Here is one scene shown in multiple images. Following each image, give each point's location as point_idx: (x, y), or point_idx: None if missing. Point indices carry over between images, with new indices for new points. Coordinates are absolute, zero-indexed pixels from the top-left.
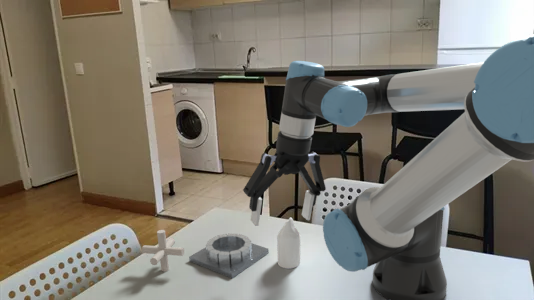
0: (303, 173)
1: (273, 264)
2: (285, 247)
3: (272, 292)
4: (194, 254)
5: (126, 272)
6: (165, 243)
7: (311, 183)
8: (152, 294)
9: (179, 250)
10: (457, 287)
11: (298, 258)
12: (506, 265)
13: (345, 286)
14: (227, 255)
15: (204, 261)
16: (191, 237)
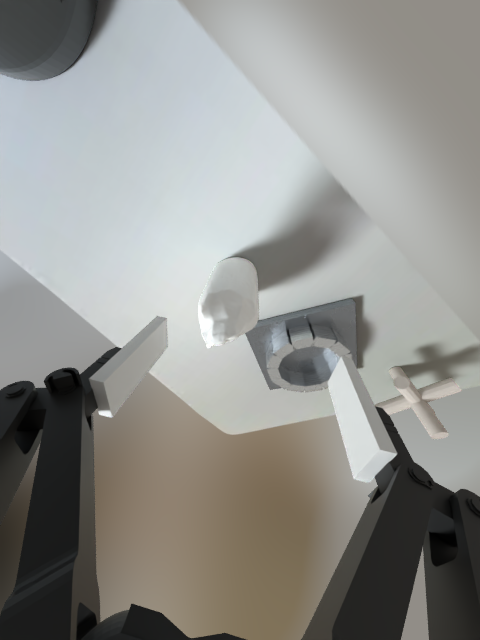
0: (61, 613)
1: (262, 291)
2: (253, 287)
3: (340, 205)
4: None
5: None
6: (422, 409)
7: (59, 452)
8: (467, 332)
9: (410, 387)
10: None
11: (223, 264)
12: None
13: (180, 88)
14: (339, 342)
15: (353, 355)
16: (304, 407)
